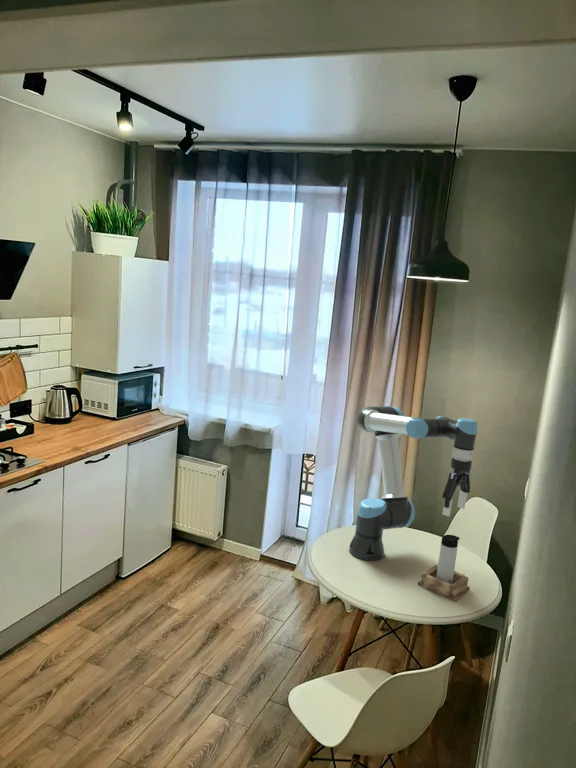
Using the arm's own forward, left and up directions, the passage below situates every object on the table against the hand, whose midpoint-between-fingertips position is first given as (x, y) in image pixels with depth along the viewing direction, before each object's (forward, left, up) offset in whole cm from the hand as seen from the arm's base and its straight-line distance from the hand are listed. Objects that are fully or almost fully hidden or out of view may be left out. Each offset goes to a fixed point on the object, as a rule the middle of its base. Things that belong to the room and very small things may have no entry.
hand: (453, 511), depth 222 cm
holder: (+1, -1, -31) cm, 31 cm away
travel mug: (+1, -1, -30) cm, 30 cm away
